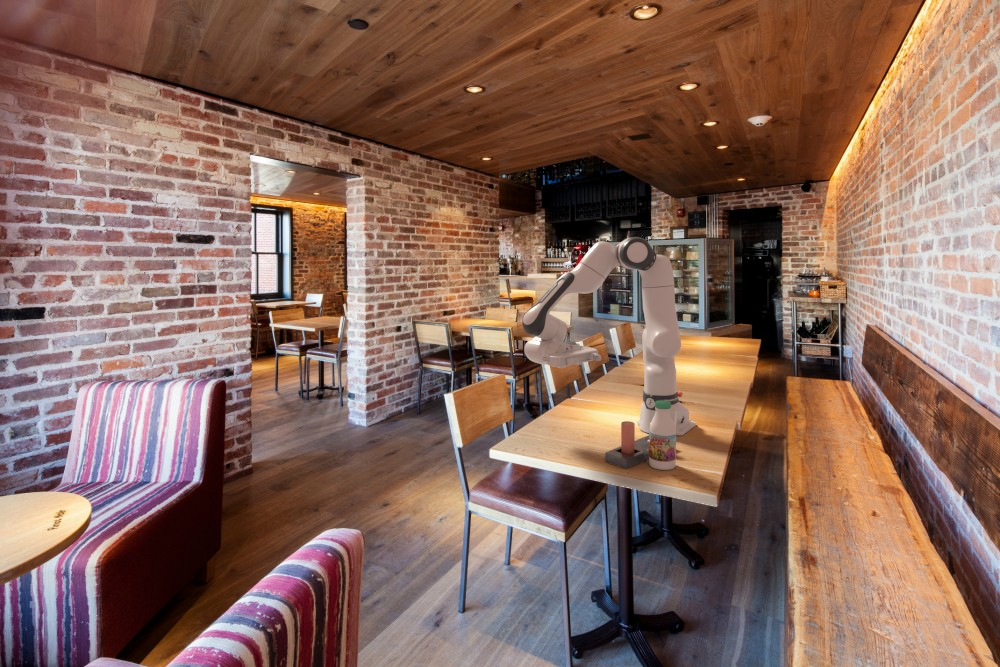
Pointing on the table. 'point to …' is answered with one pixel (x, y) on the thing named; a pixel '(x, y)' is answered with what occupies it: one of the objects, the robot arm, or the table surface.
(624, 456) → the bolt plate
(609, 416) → the table surface
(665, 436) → the milk bottle
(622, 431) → the red peg
